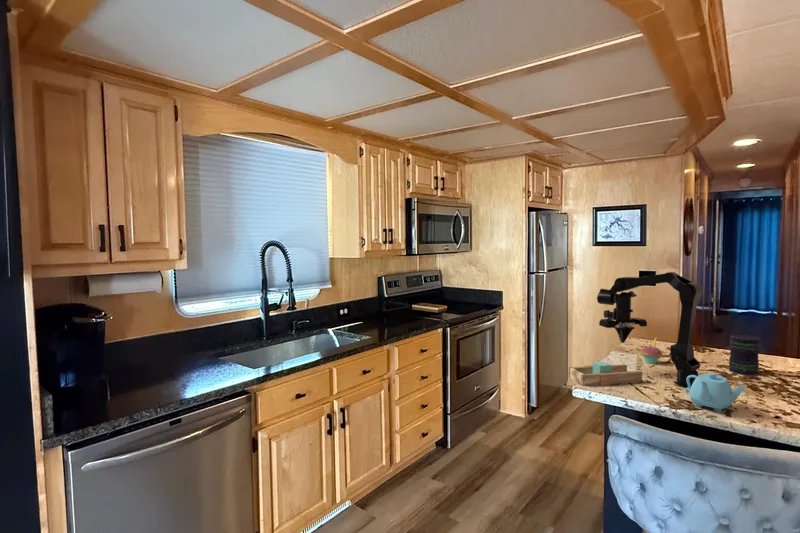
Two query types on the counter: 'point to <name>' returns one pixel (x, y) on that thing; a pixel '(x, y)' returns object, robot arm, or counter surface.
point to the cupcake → (651, 354)
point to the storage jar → (744, 354)
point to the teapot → (712, 391)
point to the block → (601, 367)
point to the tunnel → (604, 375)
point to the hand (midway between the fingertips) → (622, 342)
